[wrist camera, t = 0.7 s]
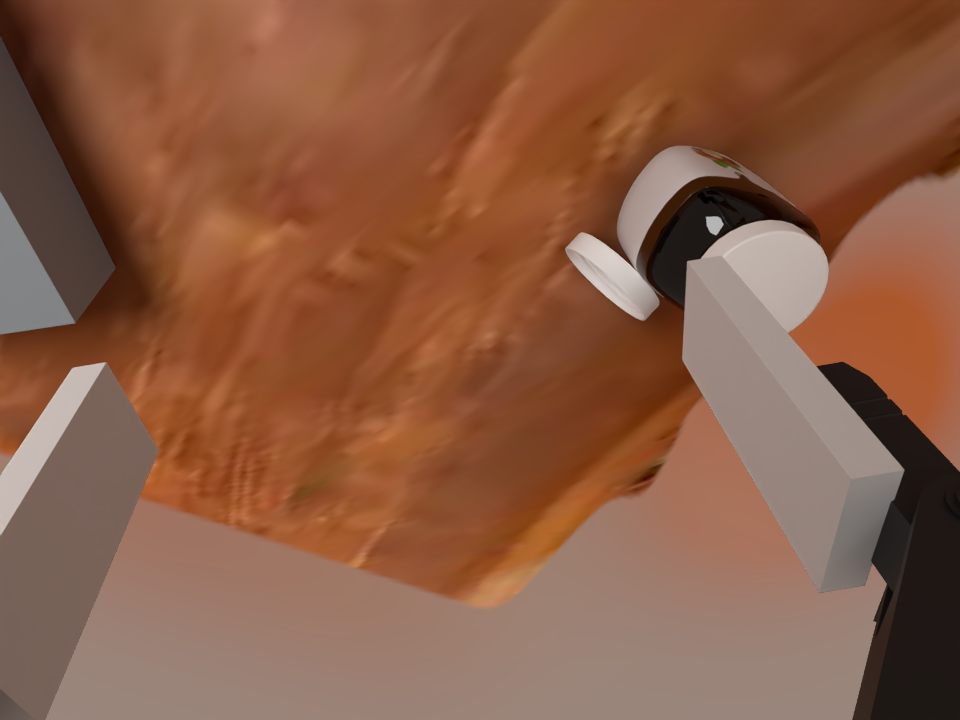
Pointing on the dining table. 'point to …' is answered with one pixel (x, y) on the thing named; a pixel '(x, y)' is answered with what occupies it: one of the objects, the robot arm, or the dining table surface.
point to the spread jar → (706, 238)
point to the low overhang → (41, 221)
